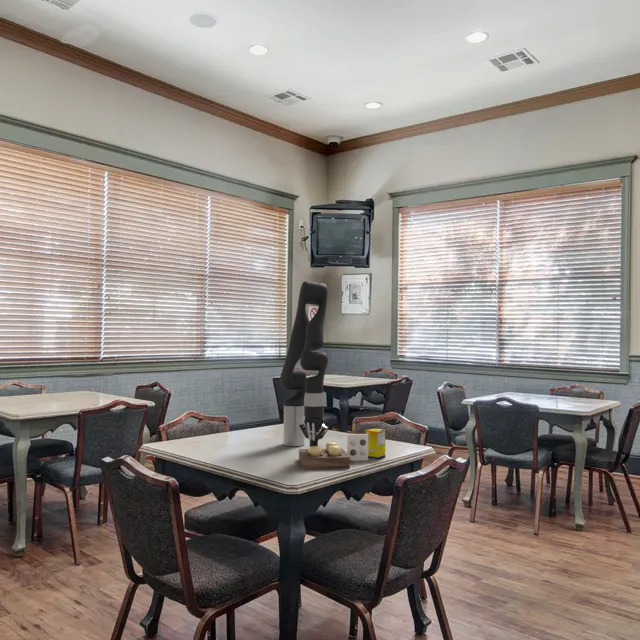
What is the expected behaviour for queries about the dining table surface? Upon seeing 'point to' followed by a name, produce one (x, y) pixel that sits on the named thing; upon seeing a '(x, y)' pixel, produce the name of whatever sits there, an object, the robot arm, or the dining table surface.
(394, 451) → the dining table surface
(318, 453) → the button
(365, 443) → the card
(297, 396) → the robot arm
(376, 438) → the supplement box
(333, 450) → the button
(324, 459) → the button board
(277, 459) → the dining table surface
